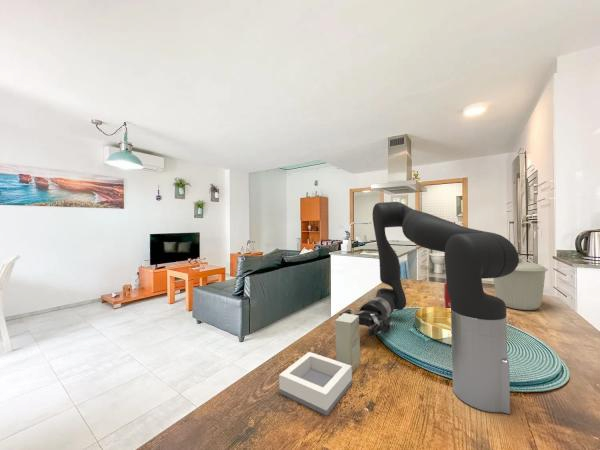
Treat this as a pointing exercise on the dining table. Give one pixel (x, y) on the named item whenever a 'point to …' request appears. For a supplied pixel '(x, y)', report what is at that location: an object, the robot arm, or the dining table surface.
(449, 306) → the soda can
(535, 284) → the canister
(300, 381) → the socket block
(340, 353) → the skincare box
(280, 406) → the dining table surface
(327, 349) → the dining table surface
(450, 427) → the dining table surface
